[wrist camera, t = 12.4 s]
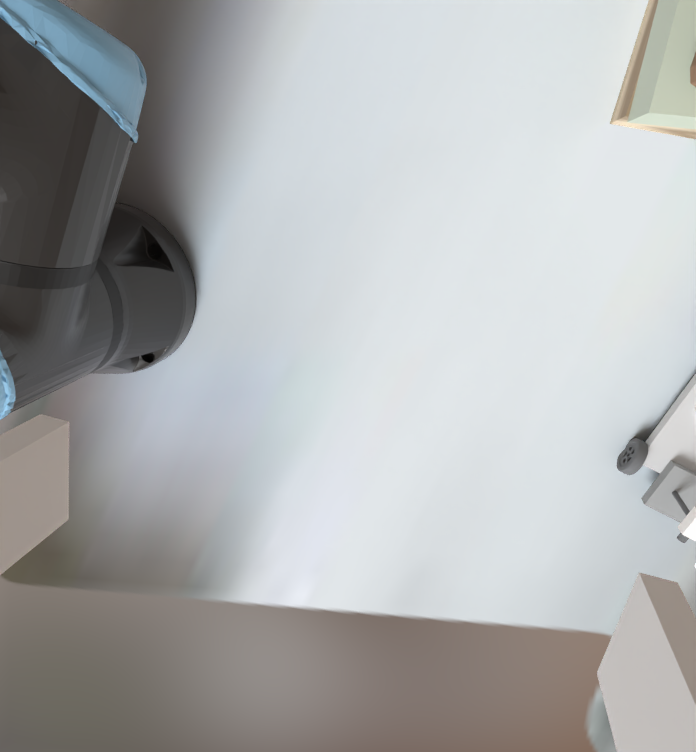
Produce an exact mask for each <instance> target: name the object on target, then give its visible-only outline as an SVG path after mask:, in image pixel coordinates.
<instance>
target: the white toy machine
mask: <svg viewBox="0 0 696 752" xmlns="http://www.w3.org/2000/svg"><path fill="white" fill-rule="evenodd" d="M642 465H644V466H646V467H648V468H650V469H652V470H654V471H656V472H658V473H660V475H659V476H658V477H657V479H656V480H655V481H654V482H653V484H652V485H651V486H650V488H649V489H648V490H647V492H646V493H645V494H644V496H643V497H642V498H641V499H642V501H643V503H644V504H645V505H646V506H648V507H650V508H652V509H654V510H656V511H658V512H660V513H662V514H664V515H666V516H668V517H670V518H672V519H674V520H676V521H678V522H680V524H679V526H678V529H679V530H680V532H681V533H680V534H679V535H678V537H677V538H678V540H680V541H681V542H683V543H685V542H686V541H687V540H688V539H689V538H690V539H692V540H694V541H695V540H696V374H695V375H694V376H693V378H692V379H691V380H690V382H689V383H688V384H687V386H686V387H685V389H684V390H683V391H682V393H681V394H680V395H679V397H678V398H677V399H676V401H675V402H674V403H673V405H672V406H671V408H670V409H669V410H668V412H667V413H666V414H665V416H664V417H663V418H662V420H661V421H660V423H659V424H658V425H657V427H656V428H655V429H654V431H653V432H652V433H651V435H650V436H649V438H648V439H647V440H646V442H644V441H642V440H640V439H638V438H634V439H631V440H630V441H629V443H628V444H627V446H626V448H625V450H624V451H623V452H622V453H621V454H620V455H619V457H618V460H617V468H618V470H619V471H621V472H623V473H625V474H627V475H632V474H634V473H636V472H637V471H638V470H639V469H640V468H641V467H642ZM695 568H696V564H695Z"/></svg>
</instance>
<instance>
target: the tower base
mask: <svg viewBox="0 0 696 752" xmlns="http://www.w3.org/2000/svg"><path fill="white" fill-rule="evenodd" d="M657 4H658V0H649V2H648V5H647V8H646V11H645V14H644V17H643V21H642V24H641V27H640V30H639V33H638V36H637V40H636V43H635V46H634V49H633V52H632V55H631V59H630V62H629V65H628V68H627V71H626V74H625V77H624V81H623V84H622V87H621V90H620V93H619V96H618V100H617V103H616V106H615V109H614V112H613V115H612V119H611V122H610V124H614V125H619V126H625V127H631V128H636V129H642V130H647V131H653V132H659V133H664V134H670V135H675V136H681V137H687V138H692V139H696V129H686V128H677V127H667V126H657V125H647V124H637V123H628V122H627V121H628V117H629V114H630V110H631V106H632V102H633V98H634V94H635V90H636V86H637V82H638V78H639V74H640V70H641V66H642V63H643V59H644V55H645V51H646V47H647V43H648V39H649V35H650V31H651V27H652V23H653V19H654V16H655V12H656V8H657Z"/></svg>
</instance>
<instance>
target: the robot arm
mask: <svg viewBox="0 0 696 752" xmlns="http://www.w3.org/2000/svg"><path fill="white" fill-rule="evenodd" d="M146 86H147V79H146V73H145V69H144V67H143V65H142V63H141V61H140V59H139V58H138V56H137V55H136V54H135V52H134V51H133V50H132V49H130V48H129V47H128V46H127V45H125V44H124V43H122V42H121V41H120V40H118V39H117V38H115V37H114V36H112V35H111V34H109V33H108V32H106V31H105V30H103V29H101V28H100V27H98V26H97V25H95V24H94V23H92V22H91V21H89V20H88V19H86V18H84V17H83V16H81V15H80V14H78V13H77V12H75V11H73V10H72V9H70V8H69V7H67V6H65V5H64V4H62V3H61V2H59V1H57V0H0V420H1V419H2V418H4V417H6V416H7V415H8V414H9V413H11V412H13V411H15V410H17V409H19V408H21V407H23V406H25V405H27V404H29V403H31V402H33V401H35V400H37V399H39V398H41V397H43V396H45V395H47V394H49V393H51V392H53V391H55V390H57V389H59V388H61V387H63V386H65V385H68V384H70V383H72V382H74V381H76V380H78V379H80V378H82V377H84V376H86V375H88V374H90V373H112V374H123V373H132V372H136V371H140V370H143V369H146V368H148V367H150V366H153V365H154V364H156V363H158V362H160V361H162V360H164V359H165V358H167V357H168V356H170V355H171V354H172V353H173V352H174V351H175V350H176V349H177V348H178V347H179V346H180V345H181V344H182V342H183V341H184V339H185V338H186V336H187V334H188V332H189V330H190V327H191V324H192V321H193V317H194V312H195V301H196V298H195V285H194V280H193V275H192V272H191V269H190V266H189V263H188V261H187V259H186V256H185V254H184V253H183V251H182V249H181V247H180V246H179V244H178V243H177V241H176V240H175V239H174V237H173V236H172V235H171V234H170V233H169V231H168V230H167V229H166V228H165V227H164V226H163V225H161V224H160V223H159V222H158V221H157V220H155V219H154V218H153V217H151V216H149V215H148V214H146V213H144V212H143V211H141V210H138V209H136V208H133V207H131V206H127V205H123V204H118V203H115V202H116V199H117V195H118V192H119V189H120V185H121V182H122V179H123V175H124V172H125V168H126V165H127V162H128V158H129V155H130V151H131V148H132V145H133V142H134V143H137V140H138V133H137V131H136V129H137V125H138V121H139V117H140V113H141V109H142V105H143V100H144V96H145V92H146ZM68 519H69V422H68V421H64V420H60V419H56V418H52V417H49V416H45V415H41V414H40V415H38V416H36V417H34V418H32V419H31V420H29V421H27V422H25V423H23V424H21V425H19V426H17V427H15V428H13V429H11V430H9V431H7V432H5V433H4V434H2V435H0V575H1V574H2V573H3V572H4V571H6V570H7V569H8V568H9V567H11V566H12V565H13V564H14V563H16V562H17V561H18V560H19V559H20V558H22V557H23V556H24V555H25V554H27V553H28V552H29V551H30V550H32V549H33V548H34V547H35V546H36V545H38V544H39V543H40V542H41V541H43V540H44V539H45V538H46V537H47V536H49V535H50V534H51V533H52V532H54V531H55V530H56V529H57V528H59V527H60V526H61V525H62V524H63V523H65V522H66V521H67V520H68ZM597 674H598V678H599V683H600V687H601V691H602V695H603V699H604V703H605V707H606V710H607V714H608V718H609V722H610V726H611V730H612V734H613V738H614V742H615V746H616V750H617V752H696V617H695V616H694V614H693V612H692V610H691V608H690V606H689V604H688V602H687V600H686V598H685V596H684V594H683V592H682V590H681V588H680V586H679V584H678V583H677V582H673V581H669V580H665V579H662V578H658V577H654V576H650V575H646V574H643V573H639V574H638V576H637V578H636V581H635V583H634V586H633V588H632V590H631V593H630V595H629V598H628V600H627V602H626V605H625V607H624V610H623V612H622V614H621V617H620V619H619V621H618V624H617V626H616V629H615V631H614V633H613V636H612V638H611V641H610V643H609V645H608V648H607V650H606V653H605V655H604V657H603V660H602V662H601V665H600V667H599V669H598V672H597Z"/></svg>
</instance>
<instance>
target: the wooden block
mask: <svg viewBox="0 0 696 752" xmlns="http://www.w3.org/2000/svg"><path fill="white" fill-rule="evenodd" d="M690 83H691V84H692V85H693V86H695V87H696V53H695V55H694V58H693V61H692V64H691V66H690Z"/></svg>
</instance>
